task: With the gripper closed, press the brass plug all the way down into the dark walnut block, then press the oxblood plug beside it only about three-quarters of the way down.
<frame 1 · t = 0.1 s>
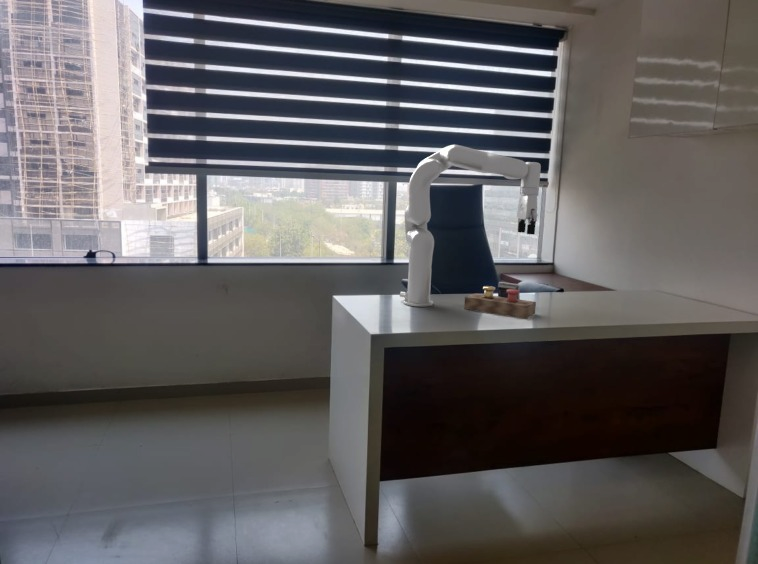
hand: (525, 233, 235), 31 cm above the table, tool pointing down, fingers open, 9 cm apart
brass plug: (488, 294, 227), point 6 cm above the table, slide at 0.0 cm
electrical switch: (507, 303, 243), on the table
oxblood plug: (512, 297, 222), point 6 cm above the table, slide at 0.0 cm
plug block: (499, 311, 226), on the table
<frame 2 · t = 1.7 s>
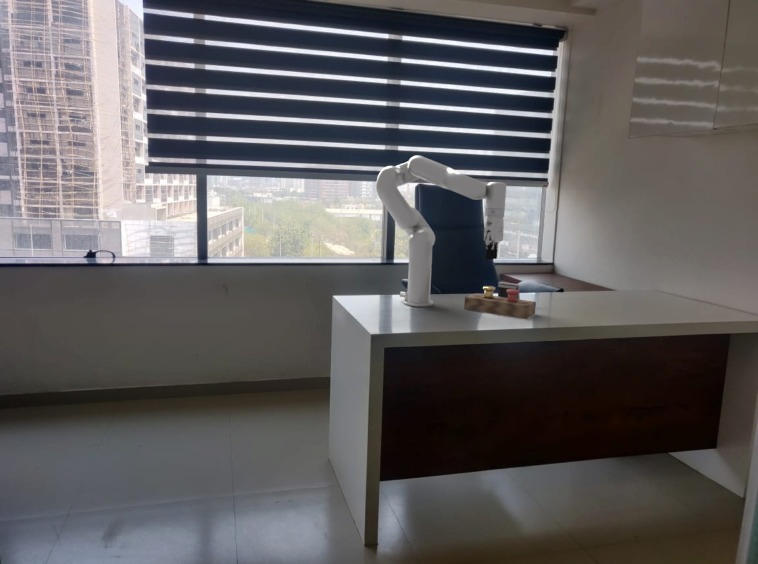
hand: (491, 258, 225), 21 cm above the table, tool pointing down, fingers closed
nothing on the table moved.
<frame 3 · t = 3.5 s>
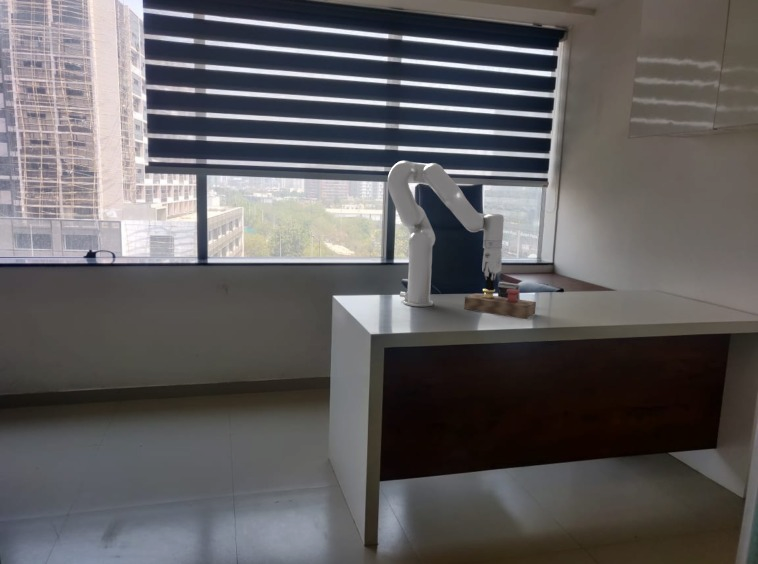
hand: (489, 289, 227), 9 cm above the table, tool pointing down, fingers closed
brass plug: (488, 296, 227), point 5 cm above the table, slide at 1.0 cm, touching gripper
everything else where it was.
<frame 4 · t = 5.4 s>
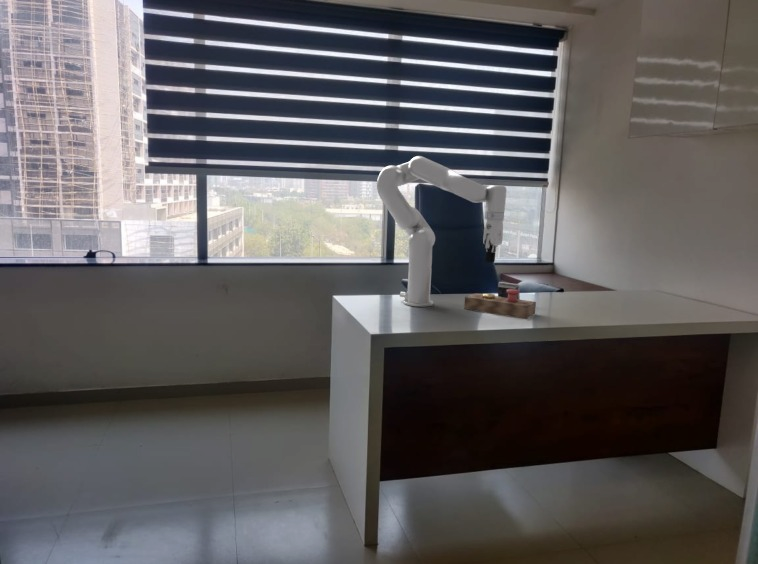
hand: (490, 261, 225), 20 cm above the table, tool pointing down, fingers closed
brass plug: (488, 301, 228), point 3 cm above the table, slide at 3.1 cm
everything else where it was.
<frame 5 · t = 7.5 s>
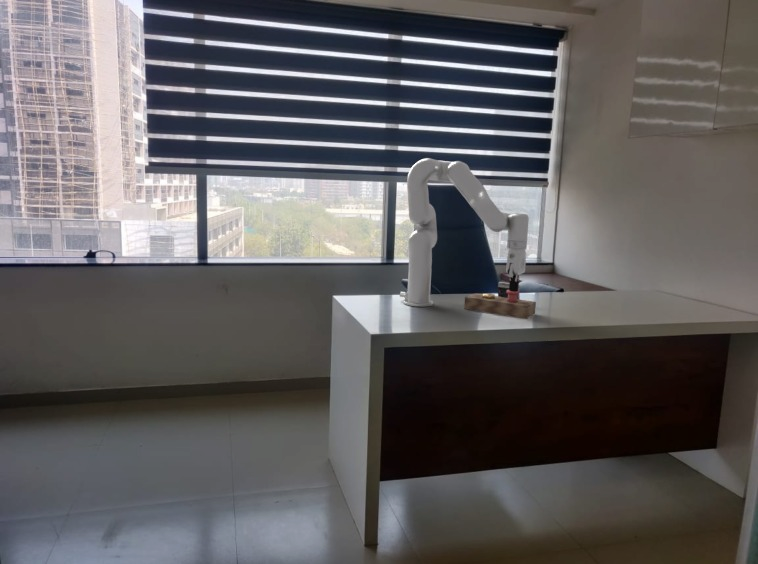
hand: (513, 290, 221), 9 cm above the table, tool pointing down, fingers closed
oxblood plug: (512, 298, 222), point 6 cm above the table, slide at 0.2 cm, touching gripper
everything else where it was.
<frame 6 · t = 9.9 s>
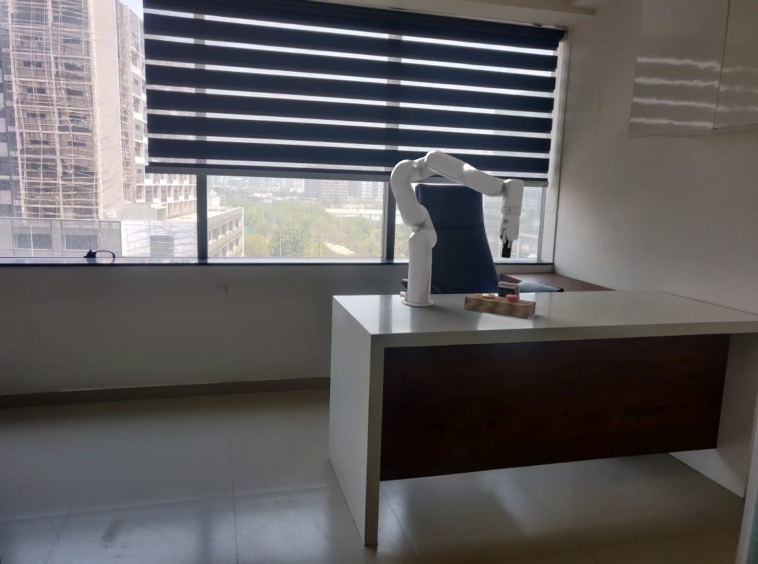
hand: (505, 257, 221), 22 cm above the table, tool pointing down, fingers closed
oxblood plug: (511, 303, 222), point 4 cm above the table, slide at 2.2 cm
everything else where it was.
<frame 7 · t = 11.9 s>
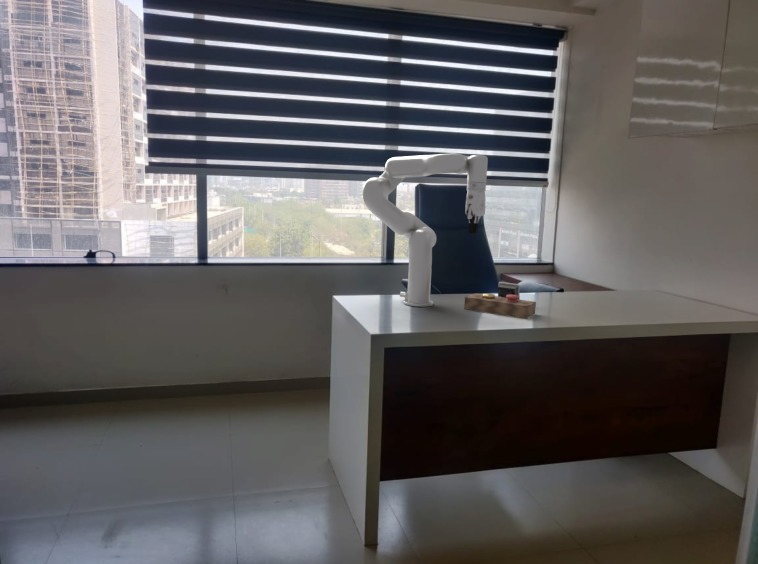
hand: (473, 233, 223), 31 cm above the table, tool pointing down, fingers closed
nothing on the table moved.
at the end: brass plug slide at 3.1 cm; oxblood plug slide at 2.2 cm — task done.
